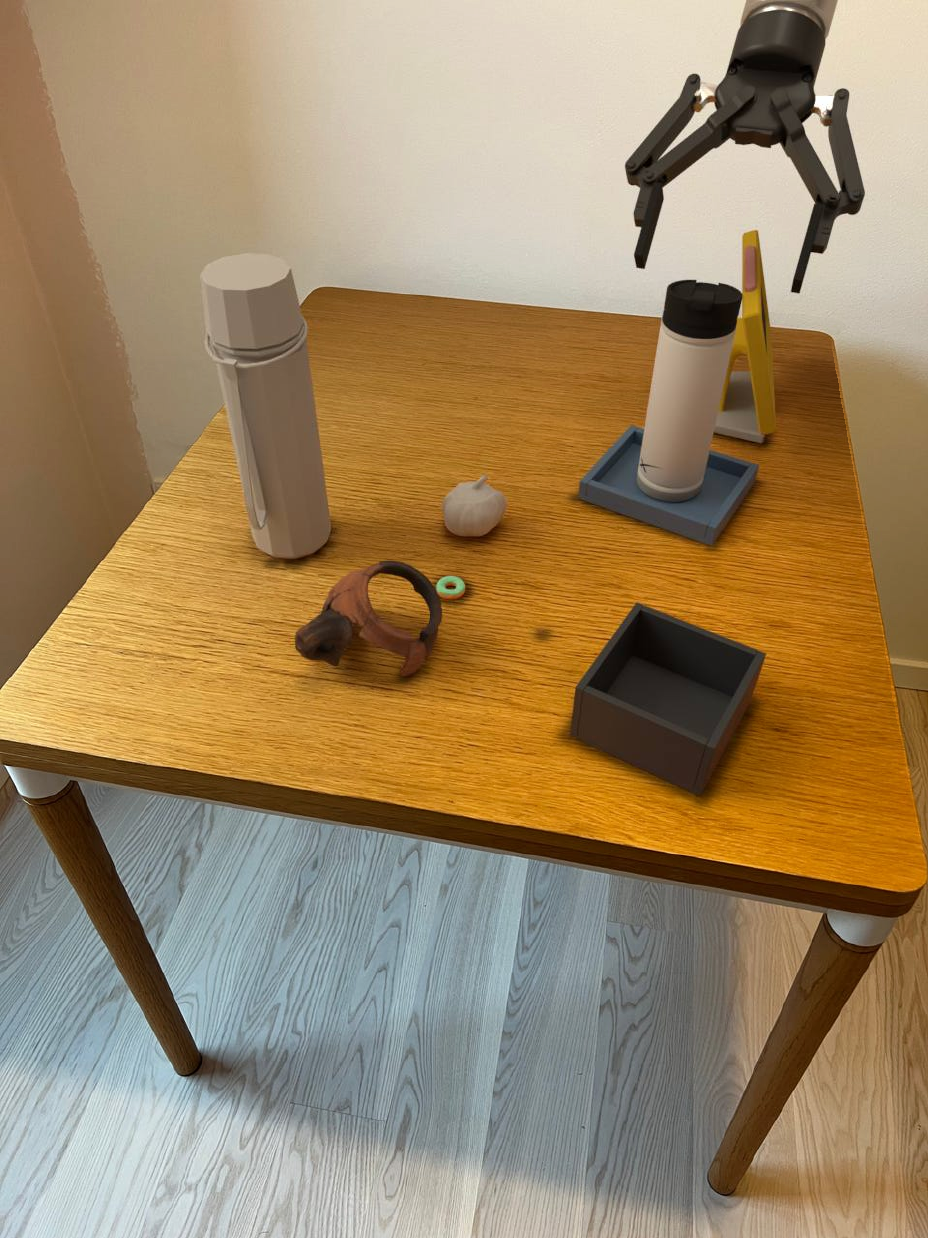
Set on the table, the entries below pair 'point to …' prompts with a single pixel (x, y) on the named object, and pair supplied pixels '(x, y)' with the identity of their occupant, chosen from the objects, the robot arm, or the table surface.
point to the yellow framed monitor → (750, 358)
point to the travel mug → (687, 387)
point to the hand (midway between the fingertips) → (715, 274)
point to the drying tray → (690, 518)
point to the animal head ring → (369, 619)
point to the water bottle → (268, 399)
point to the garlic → (473, 508)
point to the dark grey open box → (666, 696)
